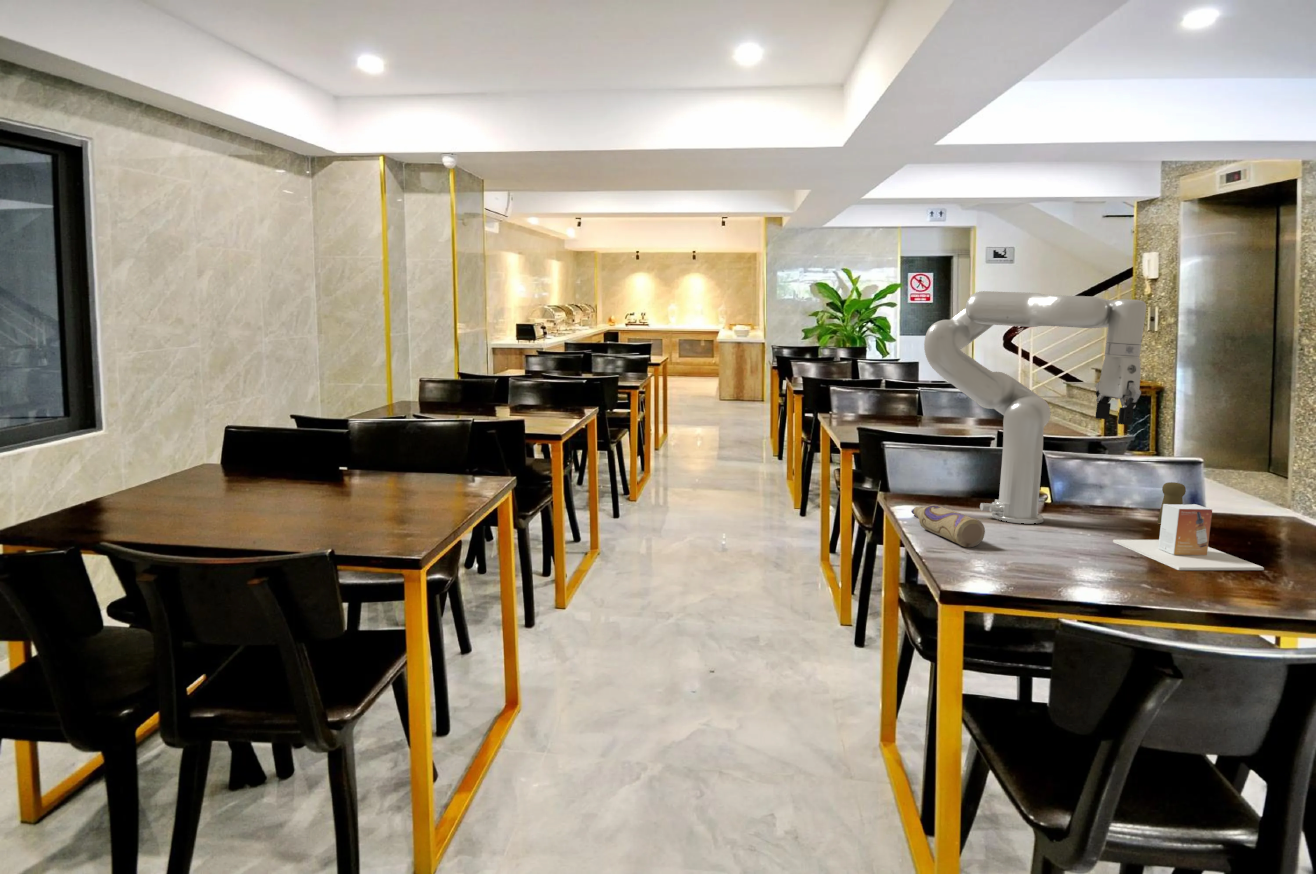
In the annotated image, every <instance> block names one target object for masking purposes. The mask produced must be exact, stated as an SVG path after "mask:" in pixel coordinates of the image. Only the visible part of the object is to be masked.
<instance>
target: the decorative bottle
mask: <svg viewBox="0 0 1316 874" xmlns="http://www.w3.org/2000/svg"><path fill="white" fill-rule="evenodd" d="M911 513H912V514H913V517H915V518H916V519H918V520H919V521H918V522H919V524H920V526H921V528H923V529H924V530H926V531H928V532H931V533H933V534H935V535H937V536H938V537H939V536H940V537H942V538H944V539H947V540H948V541H951V542H953V543H955V544H957V545H959V546H962V547H963V548H973V547H976V546H978V545H979V544H980V543H981V542H982V541H983V540H984V538H985V534H986V529H985V528H986V527H985V525H984V523H983V522H982V521H980V520H979V519H977V518H973V517H970V516H968V515H966V514H962V513H961V512H957V511H955V510H952V509H949V508H946V507H945V506H941V505H940V504H939V505H938V504H931V505H927V506H925V507H922V506H914V508H913V509H911Z"/></svg>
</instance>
